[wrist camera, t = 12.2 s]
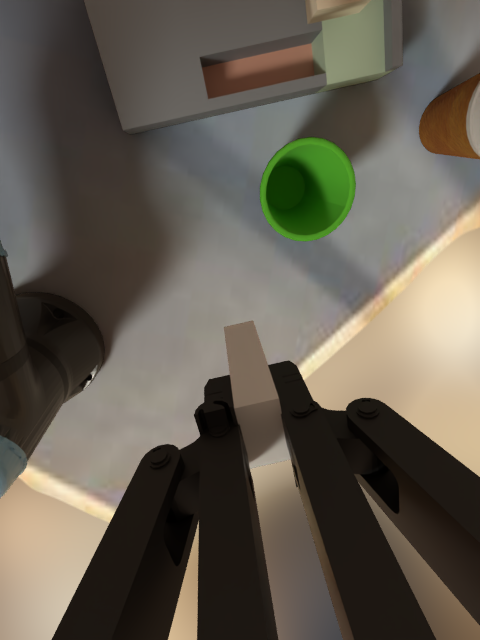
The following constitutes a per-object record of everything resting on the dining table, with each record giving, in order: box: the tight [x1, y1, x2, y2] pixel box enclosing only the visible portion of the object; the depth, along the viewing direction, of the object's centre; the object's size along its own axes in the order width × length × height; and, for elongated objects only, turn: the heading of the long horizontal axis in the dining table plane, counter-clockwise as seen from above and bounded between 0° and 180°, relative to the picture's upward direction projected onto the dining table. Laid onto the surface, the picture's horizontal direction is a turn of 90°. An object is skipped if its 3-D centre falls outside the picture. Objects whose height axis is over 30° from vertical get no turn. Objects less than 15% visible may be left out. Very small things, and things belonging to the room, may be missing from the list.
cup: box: [260, 137, 356, 241], centre depth 37 cm, size 9×9×11 cm
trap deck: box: [84, 0, 403, 134], centre depth 33 cm, size 28×15×6 cm, turn 102°
